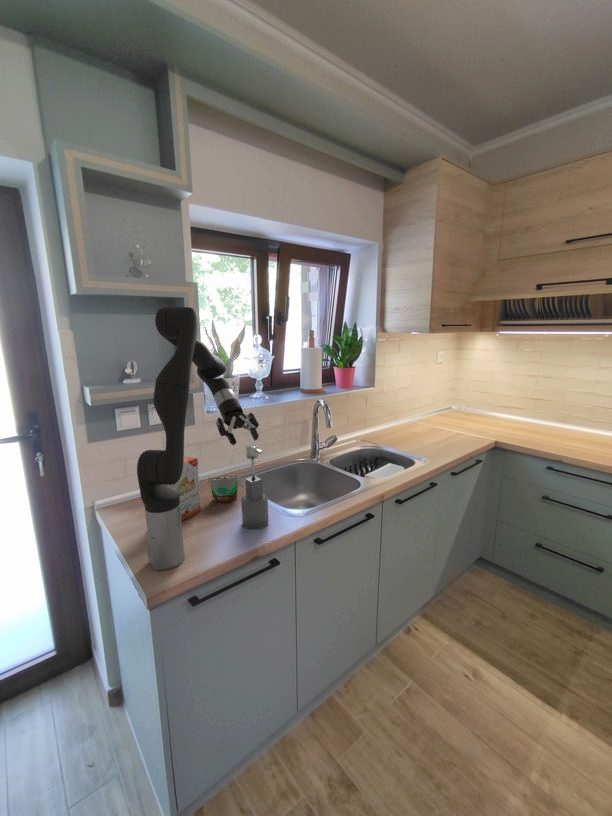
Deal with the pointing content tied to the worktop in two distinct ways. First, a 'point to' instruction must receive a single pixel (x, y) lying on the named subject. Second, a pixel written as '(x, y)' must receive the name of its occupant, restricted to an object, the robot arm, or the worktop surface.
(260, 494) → the soap bottle
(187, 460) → the cracker box
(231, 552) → the worktop surface
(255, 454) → the pump head
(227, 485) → the food container
